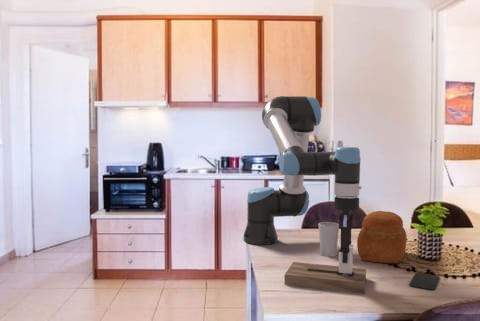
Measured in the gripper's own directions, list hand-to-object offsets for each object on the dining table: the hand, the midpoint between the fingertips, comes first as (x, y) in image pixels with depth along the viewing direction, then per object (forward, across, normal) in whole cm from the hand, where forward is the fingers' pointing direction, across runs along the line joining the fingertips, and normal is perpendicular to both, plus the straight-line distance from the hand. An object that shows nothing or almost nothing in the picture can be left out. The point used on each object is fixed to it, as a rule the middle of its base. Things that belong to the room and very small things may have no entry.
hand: (345, 270), depth 134 cm
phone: (+5, +10, -24) cm, 26 cm away
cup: (+5, +32, +9) cm, 34 cm away
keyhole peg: (+4, 0, 0) cm, 4 cm away
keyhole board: (+4, 0, +6) cm, 7 cm away
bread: (+5, +36, -11) cm, 38 cm away
